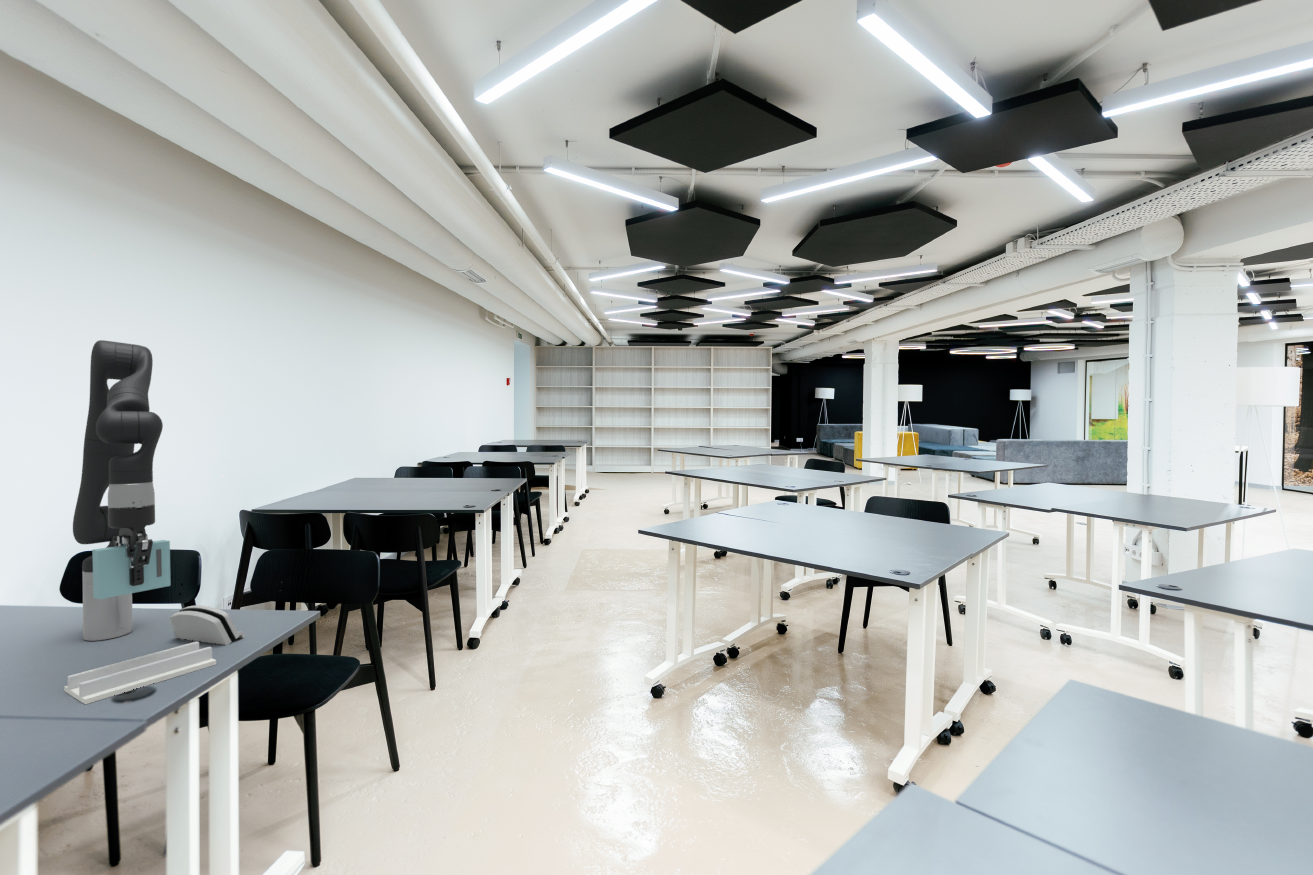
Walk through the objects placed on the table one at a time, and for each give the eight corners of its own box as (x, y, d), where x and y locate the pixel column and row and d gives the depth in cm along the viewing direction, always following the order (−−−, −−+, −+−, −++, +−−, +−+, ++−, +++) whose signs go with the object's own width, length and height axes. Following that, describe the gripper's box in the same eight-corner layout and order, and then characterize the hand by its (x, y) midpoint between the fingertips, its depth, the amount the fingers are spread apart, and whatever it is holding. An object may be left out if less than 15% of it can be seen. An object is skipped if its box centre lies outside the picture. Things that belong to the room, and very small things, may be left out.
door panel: (93, 597, 121) (92, 549, 121) (164, 584, 131) (163, 539, 131) (99, 599, 119) (98, 550, 119) (170, 585, 129) (169, 541, 129)
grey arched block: (246, 637, 148) (233, 605, 145) (229, 650, 144) (215, 617, 140) (195, 631, 152) (181, 599, 149) (177, 643, 148) (163, 611, 144)
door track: (64, 691, 118) (64, 674, 118) (193, 654, 137) (193, 639, 137) (85, 704, 112) (85, 686, 112) (216, 664, 132) (216, 649, 132)
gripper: (95, 504, 125) (97, 584, 125) (122, 507, 118) (124, 592, 118) (140, 500, 132) (141, 576, 132) (167, 503, 125) (169, 583, 125)
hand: (133, 583), depth 125 cm, fingers closed on door panel, 3 cm apart
